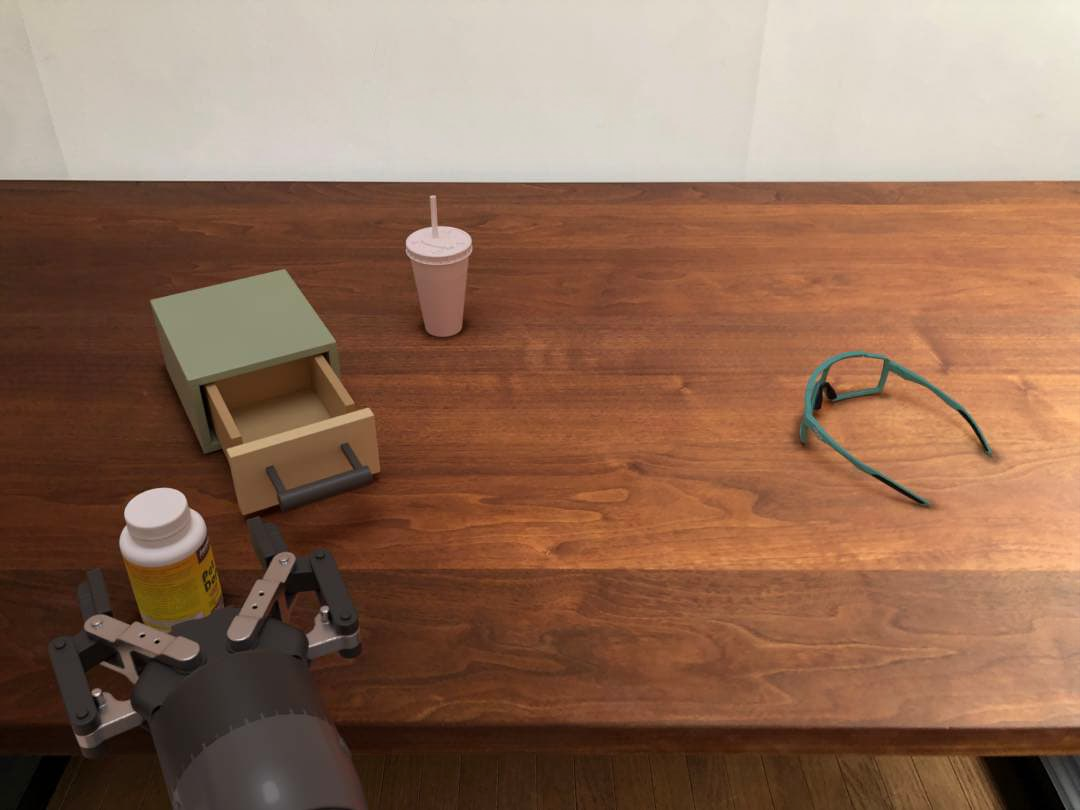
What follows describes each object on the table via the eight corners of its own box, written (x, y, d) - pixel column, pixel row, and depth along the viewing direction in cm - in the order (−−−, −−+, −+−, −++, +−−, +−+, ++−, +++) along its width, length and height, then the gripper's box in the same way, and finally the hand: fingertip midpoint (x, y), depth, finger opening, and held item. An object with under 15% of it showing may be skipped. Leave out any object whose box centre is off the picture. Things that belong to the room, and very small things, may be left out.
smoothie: (451, 304, 110) (444, 178, 102) (488, 329, 106) (484, 200, 98) (399, 324, 107) (388, 196, 98) (435, 351, 103) (427, 220, 94)
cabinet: (345, 413, 94) (336, 341, 90) (204, 454, 89) (187, 380, 85) (295, 336, 105) (285, 268, 100) (166, 369, 100) (149, 299, 95)
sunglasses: (855, 372, 100) (869, 330, 96) (997, 458, 92) (1018, 415, 88) (762, 433, 92) (775, 389, 89) (909, 532, 84) (928, 488, 81)
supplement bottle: (228, 636, 73) (200, 526, 67) (144, 653, 72) (108, 543, 66) (223, 580, 77) (197, 472, 71) (144, 595, 76) (111, 487, 70)
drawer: (403, 507, 83) (398, 449, 79) (260, 555, 78) (248, 496, 75) (326, 388, 96) (318, 334, 92) (200, 423, 91) (187, 368, 88)
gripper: (114, 903, 46) (59, 647, 57) (419, 768, 51) (312, 560, 63) (69, 800, 41) (19, 546, 53) (408, 665, 47) (295, 461, 58)
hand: (178, 554), depth 58 cm, fingers open, 8 cm apart
